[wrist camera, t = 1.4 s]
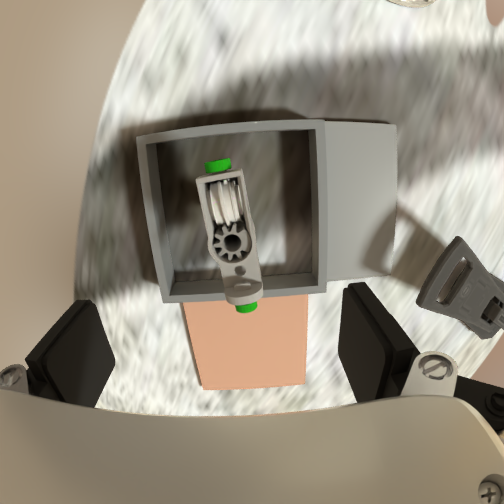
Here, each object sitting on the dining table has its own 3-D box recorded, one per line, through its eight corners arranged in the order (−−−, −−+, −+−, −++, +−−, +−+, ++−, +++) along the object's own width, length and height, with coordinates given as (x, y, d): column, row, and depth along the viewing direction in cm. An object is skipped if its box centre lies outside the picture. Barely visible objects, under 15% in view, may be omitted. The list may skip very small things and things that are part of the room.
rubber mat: (307, 285, 30) (308, 288, 30) (304, 380, 35) (304, 383, 35) (183, 294, 31) (181, 297, 30) (203, 386, 36) (203, 389, 35)
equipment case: (392, 125, 25) (407, 124, 22) (387, 271, 30) (399, 284, 27) (147, 136, 25) (136, 136, 22) (170, 289, 30) (163, 303, 28)
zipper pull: (461, 229, 22) (537, 310, 26) (425, 211, 28) (512, 290, 32) (411, 310, 24) (504, 360, 29) (384, 280, 31) (482, 336, 35)
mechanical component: (231, 262, 29) (225, 317, 20) (210, 158, 26) (190, 166, 16) (261, 257, 29) (268, 311, 20) (243, 152, 26) (240, 156, 16)
